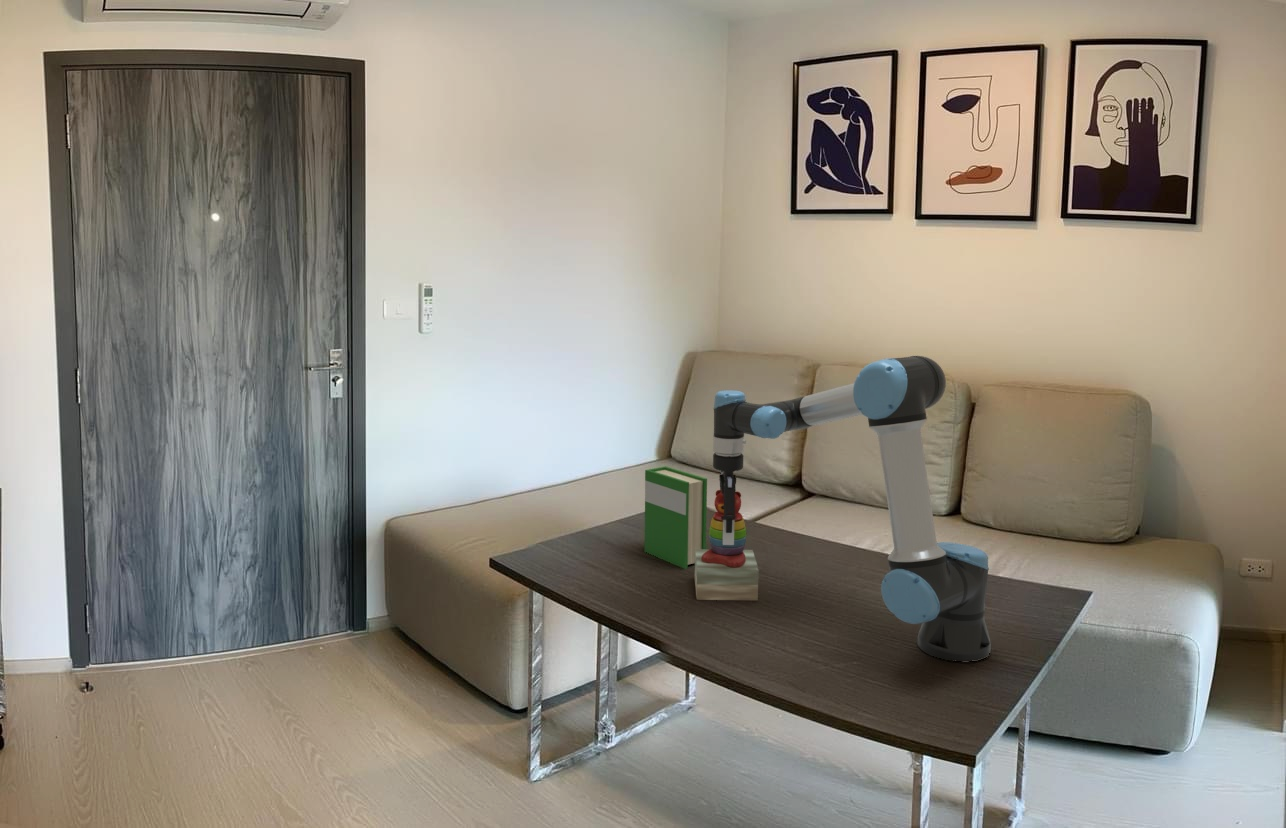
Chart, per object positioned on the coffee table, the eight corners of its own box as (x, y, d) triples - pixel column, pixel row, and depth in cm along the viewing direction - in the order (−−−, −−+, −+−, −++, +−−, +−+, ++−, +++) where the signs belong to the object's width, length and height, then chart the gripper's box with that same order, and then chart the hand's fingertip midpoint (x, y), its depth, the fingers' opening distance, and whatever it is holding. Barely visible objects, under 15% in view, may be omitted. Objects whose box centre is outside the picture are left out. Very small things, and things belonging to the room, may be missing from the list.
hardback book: (705, 563, 260) (707, 478, 256) (684, 569, 255) (686, 482, 251) (664, 547, 274) (665, 466, 269) (644, 552, 269) (645, 470, 265)
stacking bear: (698, 561, 237) (700, 492, 234) (714, 550, 246) (716, 484, 243) (738, 568, 232) (740, 498, 229) (753, 557, 241) (755, 489, 238)
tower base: (757, 600, 233) (758, 569, 232) (696, 599, 233) (697, 568, 232) (751, 579, 248) (752, 549, 247) (694, 578, 248) (695, 549, 247)
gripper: (748, 464, 222) (745, 552, 226) (739, 442, 246) (737, 522, 250) (716, 464, 222) (714, 551, 226) (710, 442, 246) (708, 522, 250)
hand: (726, 536), depth 238 cm, fingers open, 12 cm apart
